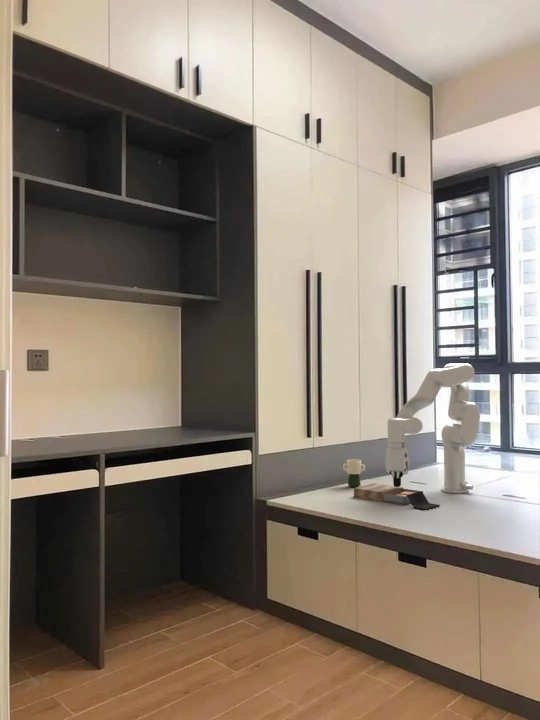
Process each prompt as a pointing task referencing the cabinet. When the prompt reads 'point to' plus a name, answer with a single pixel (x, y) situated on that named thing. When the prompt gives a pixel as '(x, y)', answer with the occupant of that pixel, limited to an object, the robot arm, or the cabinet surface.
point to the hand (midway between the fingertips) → (397, 486)
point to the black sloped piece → (420, 501)
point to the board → (376, 491)
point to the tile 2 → (406, 493)
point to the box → (399, 497)
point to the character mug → (354, 472)
